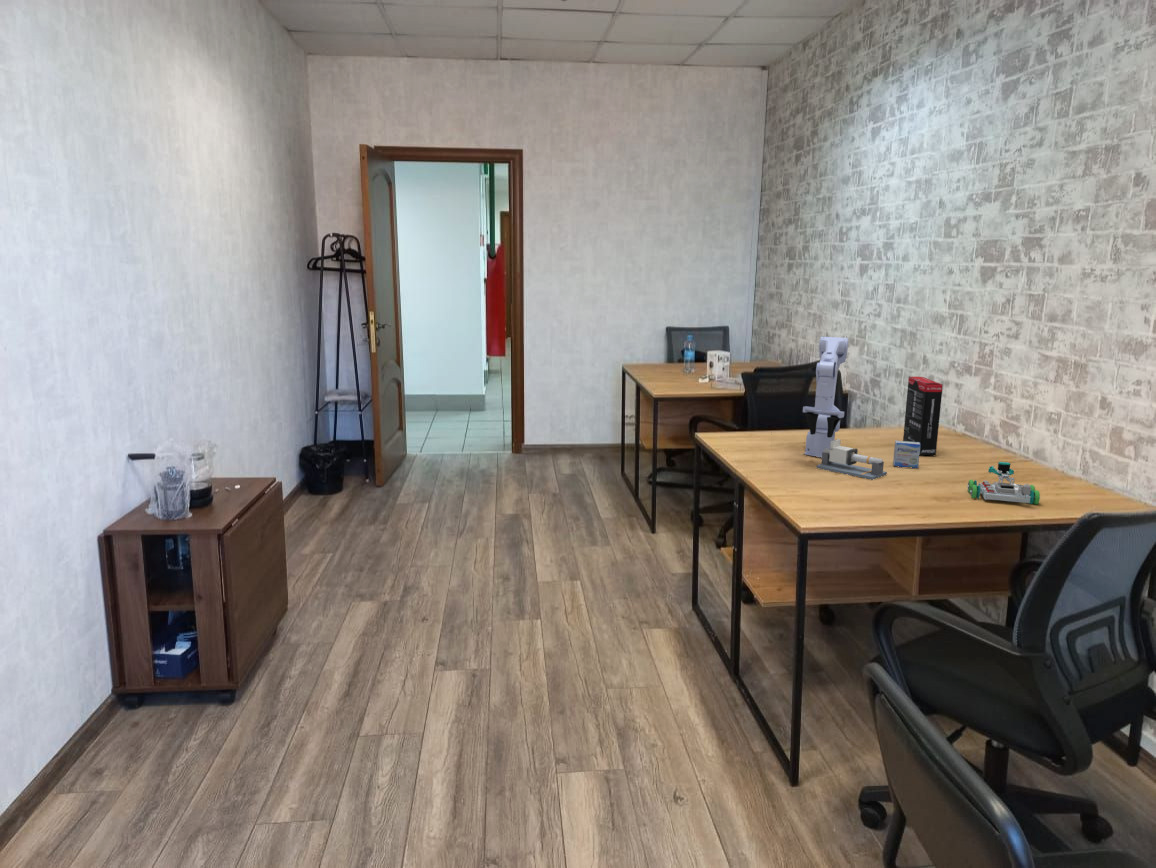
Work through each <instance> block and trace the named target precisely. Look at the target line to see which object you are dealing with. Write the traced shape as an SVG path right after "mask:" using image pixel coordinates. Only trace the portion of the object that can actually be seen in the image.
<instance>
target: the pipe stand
mask: <svg viewBox="0 0 1156 868" xmlns="http://www.w3.org/2000/svg"><path fill="white" fill-rule="evenodd" d="M829 457H830V449H827V448H825V449H824V452H823V453H822V458H821V463H820V464H817V465H816V469H818V468H819V469H818V470H823V469H824V471H828V470H829V472H832V471H833V472H832V473H837V472H839V473H838V474H841V473H843V475H846V474H848V475H847V476H851V475H853V476H852V477H855V476H858V477H857V478H860V477H862V478H861V479H865V478H866V479H865V480H869V479H871V480H870V481H873V479H874V480H877V479H879V478H882V477H884V475H885V476H887V475H886V474H888V472H887V471H884V465H885V461H884V460H883V458H879V457H874V456H867V455H863V454H859V453H857V454H854V452H853V453H851V460H852V461H857V462H858V463H864V464H866V465H871V468H870V467H866V466H865V467H864V466H861V465H856V464H852V465H849V466H848V465H847V464H846V465H845V464H840V463H835V462H831V461H829ZM847 460H848V455H847ZM857 462H856V463H857ZM881 476H882V477H881ZM878 477H879V478H878ZM876 478H877V479H876Z"/></svg>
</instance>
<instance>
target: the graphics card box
mask: <svg viewBox="0 0 1156 868" xmlns="http://www.w3.org/2000/svg"><path fill="white" fill-rule="evenodd" d="M943 388H944V385H943V384H942V383H940V382H937V381H934V380H932V379H929V378H927V377H923V376H911V375H909V376H908V380H907V392H906V402H905V403H906V404H905V414H904V427H903V436H902V441H908V442H919V443H920V445H921V446H920V455H937V448H938V438H939V437H938V436H939V426H940V417H941V406H942V397H943V396H942V395H943Z"/></svg>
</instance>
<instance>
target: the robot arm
mask: <svg viewBox="0 0 1156 868" xmlns="http://www.w3.org/2000/svg"><path fill="white" fill-rule="evenodd" d="M818 343H819V344H818V353H819V362H817V363H816V368H815V375H816V376H815V377H816V381H815V383H816V387H815V398H814V401H815V402H814V406H806V405H805V406H803V407H802V413H805V415H804V418H805V419H806V421H807V424H808V428H809V430H808V431H807V435H806V437H805V438H806V439H805V452H804V453H803V455H805V456H811V457H815V456H816V457H817V458H820V457H821V459H822V453H823V452H824V449H825V448H827V449H830V445H831V441H833V440H836V438H835V437H836V433H837V432H839V431H840V425H841V419H842V418H845V411H841V410H840V409H839V408H838V407H837V406H836V405H835V398H836V397H835V396H836V388H837V387H836V386H837V381H838V380H837V379H838V372H839V369H840V366H841V365H842V364H844V363H845V362H846V360H847V358H848V357H847V356H848V351H849V338H848V337H845V336H844V337H839V336H822V335H821V337H820V338H819V342H818Z"/></svg>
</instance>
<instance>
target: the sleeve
mask: <svg viewBox="0 0 1156 868" xmlns="http://www.w3.org/2000/svg"><path fill="white" fill-rule="evenodd" d="M853 449H855V448H853V447H849V446H848V447H847V446H842V445H841V439H839V438H838V439H835V440H833V441H831V445H830V457H829V461H831V462H835V463H840V464H845V465H846V464H847V461H848V460H847V455H848V451H849V450H853ZM851 462H852V460H851Z"/></svg>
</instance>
